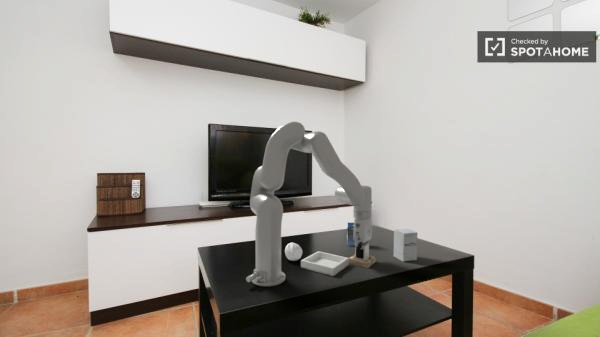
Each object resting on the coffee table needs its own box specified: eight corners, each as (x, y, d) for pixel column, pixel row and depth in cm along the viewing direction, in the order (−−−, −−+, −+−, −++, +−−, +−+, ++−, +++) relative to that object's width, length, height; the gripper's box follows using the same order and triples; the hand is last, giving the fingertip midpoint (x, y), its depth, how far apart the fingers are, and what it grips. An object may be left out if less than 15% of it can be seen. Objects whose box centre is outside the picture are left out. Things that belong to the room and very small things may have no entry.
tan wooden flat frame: (368, 268, 112) (368, 263, 112) (348, 263, 117) (348, 258, 117) (375, 261, 119) (375, 256, 119) (356, 257, 124) (356, 252, 124)
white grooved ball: (295, 264, 115) (295, 246, 115) (281, 261, 119) (281, 243, 119) (305, 259, 122) (305, 241, 122) (291, 255, 126) (291, 239, 126)
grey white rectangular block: (365, 265, 115) (365, 244, 115) (355, 262, 117) (355, 242, 117) (368, 261, 119) (369, 241, 118) (359, 259, 121) (359, 239, 121)
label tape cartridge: (363, 244, 144) (364, 221, 143) (364, 246, 140) (365, 222, 139) (346, 243, 145) (347, 220, 144) (347, 246, 141) (347, 222, 140)
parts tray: (333, 276, 104) (333, 268, 104) (300, 267, 112) (300, 260, 112) (348, 264, 115) (348, 257, 115) (318, 257, 124) (318, 251, 124)
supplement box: (403, 262, 119) (403, 233, 118) (393, 256, 126) (393, 229, 125) (417, 260, 121) (418, 232, 120) (406, 254, 128) (407, 228, 127)
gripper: (363, 218, 108) (362, 264, 109) (377, 212, 122) (377, 252, 123) (345, 216, 113) (345, 260, 113) (361, 210, 127) (361, 249, 127)
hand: (362, 255), depth 118 cm, fingers closed on grey white rectangular block, 4 cm apart
